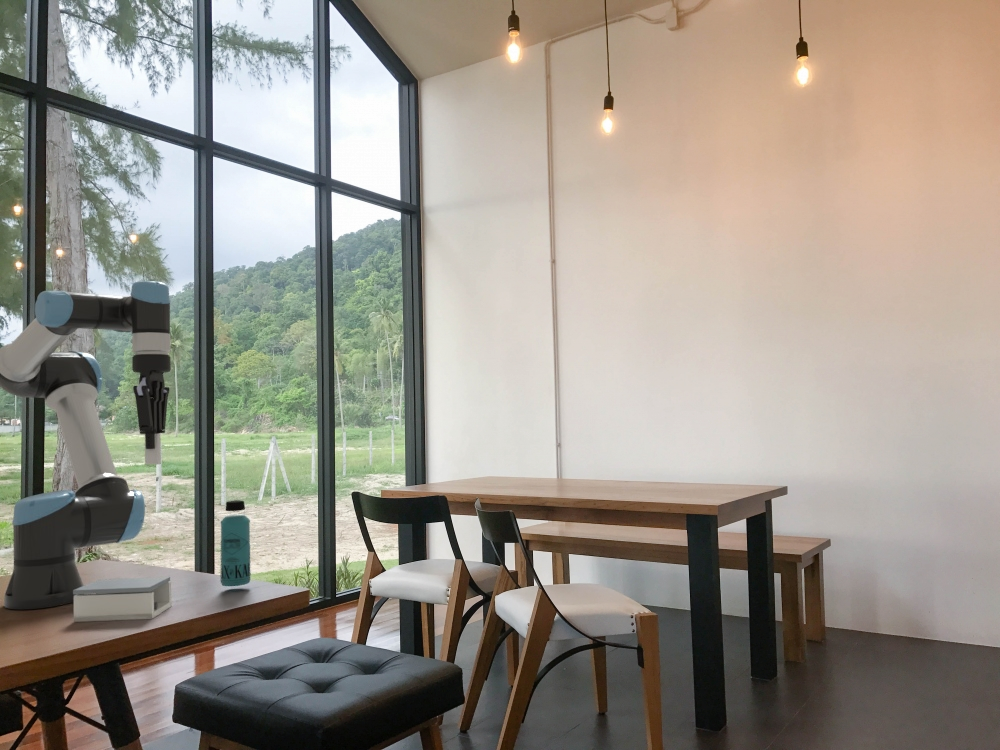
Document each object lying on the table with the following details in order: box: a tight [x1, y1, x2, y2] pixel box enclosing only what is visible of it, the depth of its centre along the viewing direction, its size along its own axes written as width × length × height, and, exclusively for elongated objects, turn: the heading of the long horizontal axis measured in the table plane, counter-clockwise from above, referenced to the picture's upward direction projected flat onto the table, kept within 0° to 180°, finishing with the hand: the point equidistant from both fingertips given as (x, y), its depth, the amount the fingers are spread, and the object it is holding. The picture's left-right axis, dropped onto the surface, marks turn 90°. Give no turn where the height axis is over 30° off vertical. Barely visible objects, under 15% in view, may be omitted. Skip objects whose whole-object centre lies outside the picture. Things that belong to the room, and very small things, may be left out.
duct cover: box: [73, 576, 171, 594], centre depth 159 cm, size 11×15×1 cm
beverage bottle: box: [219, 499, 252, 587], centre depth 179 cm, size 6×7×20 cm
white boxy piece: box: [73, 581, 172, 623], centre depth 160 cm, size 10×15×5 cm, turn 92°
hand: (153, 464), depth 169 cm, fingers closed
